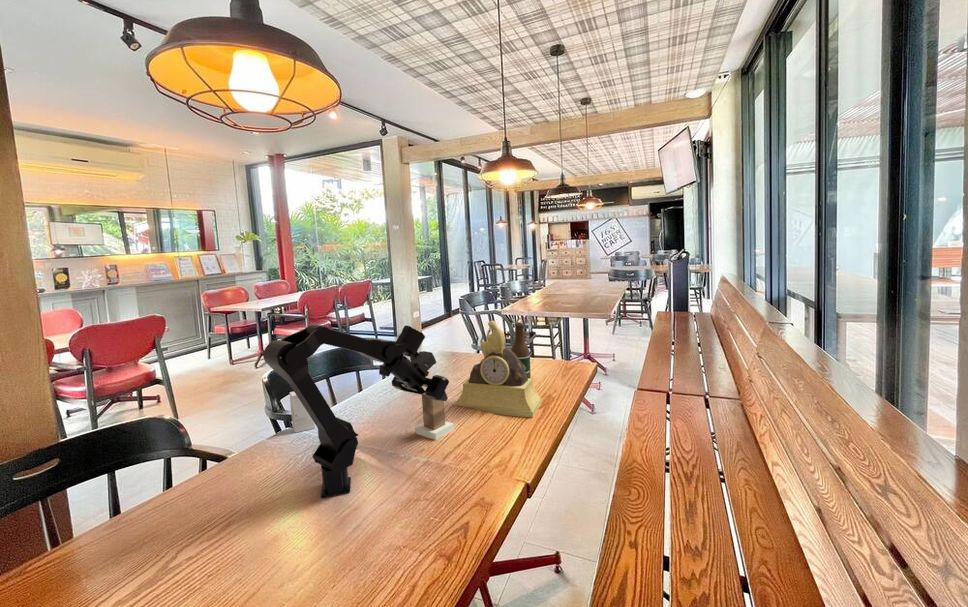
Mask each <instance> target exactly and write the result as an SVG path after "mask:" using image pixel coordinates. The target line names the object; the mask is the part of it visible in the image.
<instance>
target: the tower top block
mask: <svg viewBox="0 0 968 607" xmlns="http://www.w3.org/2000/svg"><path fill="white" fill-rule="evenodd" d="M454 430H455V424H454V423H453V422H449V421H446V420H445V425H444V426H442V427H440V428H438V429H436V430H432V429H430V428H427V427H424V422H423V423H422V424H419V425H417V426H415V434H416V435H419V436H422V437H425V438H428V439H431V440H435V441H437V440H439V439H441V438H442V437H444V436H445V435H447V434H449V433H451V432H453V431H454Z"/></svg>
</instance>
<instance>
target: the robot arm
mask: <svg viewBox="0 0 968 607" xmlns="http://www.w3.org/2000/svg"><path fill="white" fill-rule="evenodd" d="M425 339H426V336H425V334H424V333H423V332H421V331H419V330H418V329H415V328H413V327H412V326H411V325H404V326H403V328H402V330H401V332H400V334H399V335H398V337H397V339H396V340H395V341H394V340H388V339H383V338H377V337H361V336H358V335H355V334H354V335H353V334H350V333H347V332H345V331H344V332H343V331H340V330H338V329H337V330H336V329H333V328H330V327H328V326H326V325H321V324H313V323H312V324H310V325H308V326H307V327H305V328H303V329H301V330H299V331H297V332H294V333H292V334H289V335H287V336H285V337H283V338H281V339H277V340H273V341H271V342H269V343H268V344H267V345H266V347H265V348H264V351H263V354H262V358H263V360H264V362H265V363H266V364H267V365H268V366H269V367H270V368H271V369H272V370H273V371H274V372H275V373H276V374H277V375H279V377H281V378H282V379H283V380H284V381H286V382H287V383H288V384H289V386H290V388H291V390H293V391H292V392H295V394H296V395H297V397H298V398H299V400H300V401H301V403H302V404H303V406H304V408H305V409H306V411H307V412H308V414H309V415H310V417H311V418H312V420H313V421H314V425H315V426H316V428H317V434H318V435H317V437H318V439H319V440H318V441H319V445H318V446H317V448H316V450H315V451H314V453H313V455H312V458H313V461H314V462H315V463H316V464H319V465H320V467H321V468H320V470H321V480H322V481H321V483H322V485H321V491H320V498H323V499H324V498H328V497H333V496H338V495H344V494H349V493H350V492H351V488H352V487H351V482H352V478H351V477H352V476H349V472H348V468H349V467H351V466H353V464H354V459H355V455H356V450H357V448H358V445H359V440H358V436H359V434H358V433H356V431H355V430H354V427H353V425H352V423H351V422H349V421H347V420H344V419H342V418H340V417H336V415H335V414H334V411H333V410H332V409H331V407H330V405H329V404H328V402H327V400H326V399H325V398H324V396H323V394H322V392H321V390H319V388H318V386H317V384H316V383H315V381H314V379H313V378H312V376H311V374H310V366H309V360H308V358H310V357H312V356H313V355H314V354H315V353H316V352H317V351H318V349H319V348H320V347H321V346H323V345H328V346H332V347H335V348H336V347H337V348H340V349H345V350H348V351H352V352H355V353H357V354H359V355H361V356H362V357H364V358H366V359H369V360H370V361H374V362H375V361H376V362H380V363H382V364H380V365H379V369H378V375H380V376H384V377H387V378H388V377H390V376H391V375H392V376H393V378H392V380H391V386H392V387H393V388H394V389H397V390H400V391H403V392H405V393H406V392H408V393H410V394H411V393H412V394H416V395H421V396H422V394H423V393H425V392H426V395H427V396H428V397H430V399H434V400H440V401H444V402H447V401H448V398H449V397H448V395H447V392H446V389H447V388H448V386H449V383H450V380H449V379H448V378H447V377H446V376H443V375H439V374H435V375H433V376H432V377H431V378H430V377H428V376H429V374H430V372H429V370H430V369H431V368H433V366H434V365H436V364H437V360H436V358H435V356H434V354H433V352H431V351H426V350H425V351H424V350H423V351H420V350H419V349H420V347H421V345H422V344H423V342H424V340H425ZM418 351H419V352H418ZM408 357H409V358H408ZM423 387H426V388H425V389H424V388H423Z"/></svg>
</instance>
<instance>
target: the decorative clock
mask: <svg viewBox="0 0 968 607" xmlns="http://www.w3.org/2000/svg"><path fill="white" fill-rule="evenodd" d="M487 325H488V327H489V328H488V330H487V334H486V341H485V340H484V341H482V342H481V343H480V347H481V353H482V355H483V359H481V360H480V362H479V363H477V364H474V365H473V367H472V369H471V372H469V373H470V375H469V378H468V379H466V380H465V381H464V382H463V383H462V391H461V394H460V396H459V397H458V399H457V400H455V401H454V402H453V403H452V406H456V407H457V406H458V407H464V408H465V407H466V408H471V409H475V410H477V411H481V412H485V413H489V414H491V415H493V414H494V415H504V416H512V417H513V416H514V417H521V418H531V419H533V418H534V417H535V415H536V413H537V412H538V410H539V408H540V407H541V405H542V404H543V403H542V402H543V401H542V400H543V399H542V397H541V396H540V395H539V394H538V392H537V391H536V389H535V387H534V383H533V378H527V375H526V371H525V370H526V367H525V366H524V364H523V363H522V362H521V361H520V360H519V359H518V357H517V356H516V355H515V353H514V352H513V351H511V349H510V348H509V347H506V336H505V333H504V332H503V330H502V329H501V328H499V326H498V324H497V322H496V321H495V320H490V321H489V322H488V323H487ZM491 331H492V332H491ZM490 333H491V334H490Z"/></svg>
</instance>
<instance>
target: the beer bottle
mask: <svg viewBox="0 0 968 607" xmlns="http://www.w3.org/2000/svg"><path fill="white" fill-rule="evenodd" d="M514 327H515V332H514V333H515V335H514V337H515V338H514V343H513V344H512V347H511V349H510V350H511V351H513V352H514V353H515V355H516V356H517V357H518V359H519V360H520V361H521V362H522V363H523V364H524V366H525V367H526V370H525V371H526V375H527V378H530V379H532V378H531V354H530V348H529V346H528V345H527V344H526V340H525V330H524V329H525V328H524V327H525V325H524V323H523V322H516V323H515V324H514Z"/></svg>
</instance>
